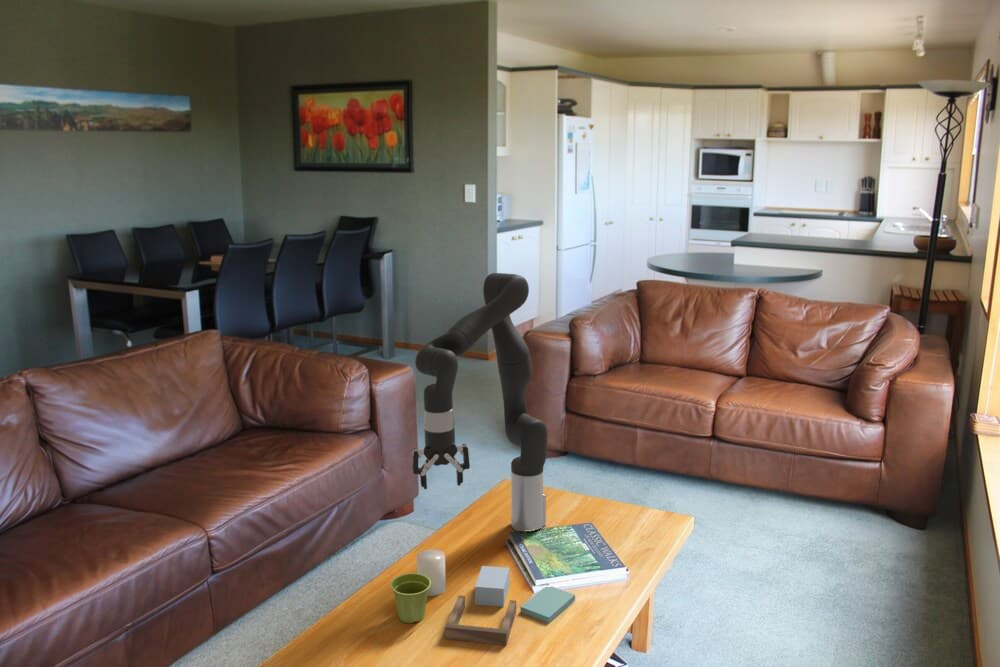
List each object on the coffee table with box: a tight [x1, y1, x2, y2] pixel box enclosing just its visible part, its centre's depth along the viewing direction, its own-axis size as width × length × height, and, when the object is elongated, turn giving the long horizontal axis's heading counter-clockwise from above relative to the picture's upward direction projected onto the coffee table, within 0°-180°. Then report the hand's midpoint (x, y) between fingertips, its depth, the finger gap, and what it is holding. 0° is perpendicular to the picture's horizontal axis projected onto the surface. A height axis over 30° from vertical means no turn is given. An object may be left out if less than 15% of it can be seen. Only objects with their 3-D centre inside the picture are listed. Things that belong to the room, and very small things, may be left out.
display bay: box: [444, 595, 517, 646], centre depth 192 cm, size 14×14×3 cm
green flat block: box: [519, 585, 576, 624], centre depth 200 cm, size 12×8×2 cm, turn 145°
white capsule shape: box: [416, 548, 447, 597], centre depth 207 cm, size 7×7×9 cm
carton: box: [474, 565, 511, 608], centre depth 205 cm, size 10×7×5 cm
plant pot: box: [390, 572, 431, 624], centre depth 195 cm, size 9×9×9 cm
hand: (441, 486), depth 210 cm, fingers open, 8 cm apart
